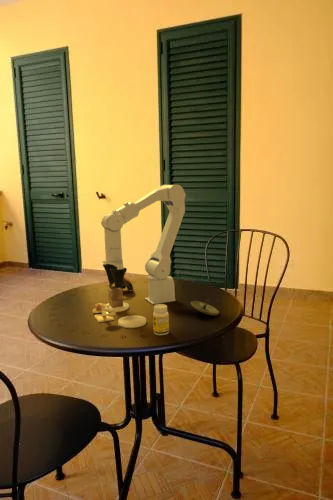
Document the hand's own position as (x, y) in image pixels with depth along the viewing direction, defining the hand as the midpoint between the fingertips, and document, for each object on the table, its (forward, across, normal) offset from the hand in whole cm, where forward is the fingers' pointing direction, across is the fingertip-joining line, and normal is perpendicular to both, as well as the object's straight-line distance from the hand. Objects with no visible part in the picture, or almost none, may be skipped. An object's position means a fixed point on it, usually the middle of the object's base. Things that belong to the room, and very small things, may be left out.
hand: (115, 285), depth 146 cm
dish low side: (+9, 0, 0) cm, 9 cm away
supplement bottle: (+9, +29, +5) cm, 31 cm away
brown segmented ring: (+9, -18, +8) cm, 22 cm away
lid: (+9, +20, +25) cm, 33 cm away
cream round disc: (+9, +17, 0) cm, 19 cm away
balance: (+9, +8, -7) cm, 14 cm away
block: (+8, 0, 0) cm, 8 cm away
